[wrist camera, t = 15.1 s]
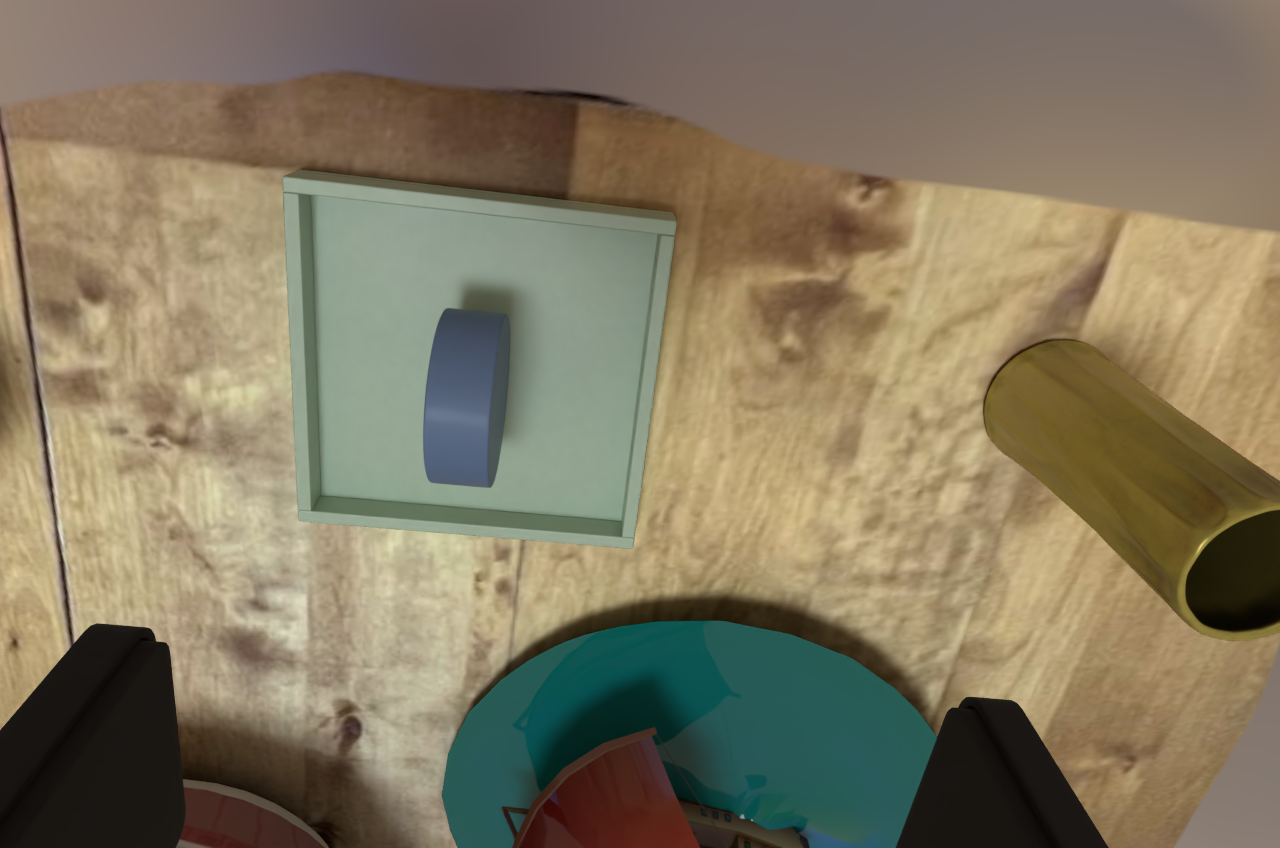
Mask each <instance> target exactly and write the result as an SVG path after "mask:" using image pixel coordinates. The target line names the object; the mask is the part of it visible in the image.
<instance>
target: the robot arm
mask: <svg viewBox="0 0 1280 848" xmlns="http://www.w3.org/2000/svg"><path fill="white" fill-rule="evenodd" d="M185 816H186V805H185V795H184V785H183V775H182V766H181V756H180V746H179V736H178V726H177V716H176V706H175V697H174V687H173V677H172V667H171V657H170V650H169V646H168V645H167V643H164V642H156V639H155V635H154V633H153V631H152V630H151V629H149V628H145V627H133V626H121V625H109V624H94V625H92V626H90V627H89V628H88V629H87V630H86V631H85V632H84V633H83V634H82V635H81V636H80V637H79V639H78V640H77V641H76V642H75V643H74V644H73V646H72V647H71V648H70V649H69V650H68V651H67V653H66V654H65V655H64V656H63V657H62V658H61V660H60V661H59V662H58V663H57V664H56V666H55V667H54V668H53V669H52V670H51V671H50V673H49V674H48V675H47V676H46V677H45V678H44V680H43V681H42V682H41V683H40V684H39V686H38V687H37V688H36V689H35V690H34V691H33V693H32V694H31V695H30V696H29V697H28V698H27V700H26V701H25V702H24V703H23V704H22V706H21V707H20V708H19V709H18V710H17V711H16V713H15V714H14V715H13V716H12V717H11V718H10V720H9V721H8V722H7V723H6V724H5V725H4V727H3V728H2V729H1V730H0V848H176V846H177V844H178V842H179V840H180V837H181V834H182V831H183V827H184V823H185ZM896 848H1108V846H1107V844H1106V843H1105V841H1104V840H1103V838H1102V836H1101V835H1100V833H1099V832H1098V830H1097V828H1096V827H1095V825H1094V824H1093V822H1092V820H1091V819H1090V817H1089V816H1088V814H1087V812H1086V811H1085V809H1084V808H1083V806H1082V804H1081V803H1080V801H1079V800H1078V798H1077V796H1076V795H1075V793H1074V791H1073V790H1072V788H1071V787H1070V785H1069V783H1068V782H1067V780H1066V779H1065V777H1064V775H1063V774H1062V772H1061V771H1060V769H1059V767H1058V766H1057V764H1056V763H1055V761H1054V759H1053V758H1052V756H1051V755H1050V753H1049V751H1048V750H1047V748H1046V747H1045V745H1044V743H1043V742H1042V740H1041V738H1040V737H1039V735H1038V734H1037V732H1036V730H1035V729H1034V727H1033V726H1032V724H1031V722H1030V721H1029V719H1028V718H1027V716H1026V714H1025V713H1024V711H1023V710H1022V708H1021V707H1020V706H1019V705H1018V704H1017V703H1016V702H1014V701H1012V700H1002V699H990V698H978V697H966V698H965V699H964V700H963V701H962V702H961V703H960V705H959V707H958V708H951V709H950V710H948V712H947V714H946V716H945V718H944V721H943V724H942V726H941V729H940V732H939V734H938V737H937V740H936V742H935V745H934V747H933V750H932V753H931V755H930V758H929V761H928V763H927V766H926V769H925V771H924V774H923V777H922V779H921V782H920V785H919V787H918V790H917V793H916V795H915V798H914V800H913V803H912V806H911V808H910V811H909V814H908V816H907V819H906V822H905V824H904V827H903V830H902V832H901V835H900V838H899V840H898V843H897V845H896Z"/></svg>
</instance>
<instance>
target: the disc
mask: <svg viewBox="0 0 1280 848" xmlns="http://www.w3.org/2000/svg"><path fill="white" fill-rule="evenodd" d="M509 362H510V323H509V317H508V315H507V314H503V313H493V312H483V311H474V310H464V309H454V308H446V309H445V310H444V311H443V313H442V314H441V317H440V319H439V322H438V325H437V328H436V331H435V335H434V340H433V344H432V349H431V355H430V361H429V367H428V374H427V383H426V392H425V404H424V421H423V454H424V465H425V471H426V475H427V478H428V480H429V481H430V482H431V483H437V484H449V485H460V486H471V487H483V488H491V487H492V485H493V483H494V481H495V477H496V473H497V469H498V464H499V458H500V452H501V445H502V438H503V431H504V422H505V413H506V403H507V392H508V379H509Z"/></svg>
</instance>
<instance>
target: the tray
mask: <svg viewBox="0 0 1280 848" xmlns="http://www.w3.org/2000/svg"><path fill="white" fill-rule="evenodd" d="M282 179H283V191H284V192H283V204H284V226H285V247H286V268H287V290H288V311H289V332H290V354H291V375H292V396H293V418H294V439H295V460H296V482H297V503H298V520H299V521H303V522H315V523H327V524H339V525H351V526H363V527H375V528H387V529H399V530H412V531H424V532H436V533H448V534H460V535H472V536H484V537H496V538H508V539H520V540H532V541H544V542H556V543H568V544H580V545H592V546H604V547H616V548H628V549H632V548H633V545H634V537H635V530H636V523H637V515H638V508H639V501H640V493H641V486H642V478H643V471H644V464H645V456H646V449H647V441H648V434H649V427H650V419H651V412H652V404H653V397H654V390H655V382H656V375H657V368H658V360H659V353H660V345H661V338H662V331H663V323H664V316H665V308H666V301H667V294H668V286H669V279H670V271H671V264H672V257H673V249H674V242H675V234H676V227H677V221H676V218H675V216H674V213H673V212H666V211H657V210H648V209H640V208H631V207H622V206H614V205H605V204H596V203H588V202H579V201H570V200H561V199H553V198H544V197H535V196H527V195H518V194H509V193H501V192H492V191H483V190H475V189H466V188H457V187H448V186H440V185H431V184H422V183H414V182H405V181H396V180H388V179H379V178H370V177H361V176H353V175H344V174H335V173H327V172H318V171H309V170H301V169H300V170H297V171H295V172H293V173H290V174H288V175H285V176H283V178H282ZM446 308H454V309H464V310H474V311H483V312H493V313H503V314H507V315H508V317H509V323H510V362H509V379H508V392H507V403H506V413H505V422H504V431H503V438H502V445H501V452H500V458H499V464H498V469H497V473H496V477H495V481H494V483H493V485H492V487H491V488H483V487H471V486H460V485H449V484H437V483H431V482H430V481H429V480H428V478H427V475H426V471H425V465H424V454H423V421H424V404H425V392H426V383H427V374H428V367H429V361H430V355H431V349H432V344H433V340H434V335H435V331H436V328H437V325H438V322H439V319H440V317H441V314H442V313H443V311H444V310H445V309H446Z"/></svg>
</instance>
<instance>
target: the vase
mask: <svg viewBox="0 0 1280 848" xmlns="http://www.w3.org/2000/svg"><path fill="white" fill-rule="evenodd" d="M984 416H985V424H986V429H987V432H988V435H989V437H990V439H991V440H992V442H993V443H994V444H995V445H996V446H997V448H998V449H999V450H1000V451H1001V452H1002V453H1003V454H1005V455H1006V456H1008V457H1010V458H1011V459H1013V460H1014V461H1015V462H1017V463H1018V464H1019V465H1020V466H1022V467H1023V468H1024V469H1026V470H1027V471H1028V472H1029V473H1031V474H1032V475H1033V476H1035V477H1036V478H1037V479H1038V480H1040V481H1041V482H1042V483H1043V484H1044V485H1045V486H1047V487H1048V488H1049V489H1050V490H1051V491H1052V492H1053V493H1054V494H1055V495H1057V496H1058V497H1059V498H1060V499H1061V500H1062V501H1063V502H1064V503H1065V504H1066V505H1068V506H1069V507H1070V508H1071V509H1072V510H1073V511H1074V512H1075V513H1076V514H1078V515H1079V516H1080V517H1081V518H1082V519H1083V520H1084V521H1085V522H1086V523H1087V524H1089V525H1090V526H1091V527H1092V528H1093V529H1094V530H1095V531H1096V532H1097V533H1098V534H1099V535H1100V536H1101V537H1102V538H1103V540H1104V541H1105V542H1106V543H1107V544H1108V545H1109V546H1110V547H1111V548H1112V549H1113V550H1114V551H1115V552H1116V553H1117V554H1118V555H1119V556H1120V557H1121V558H1122V559H1123V560H1124V561H1125V562H1126V563H1127V564H1128V565H1129V566H1130V567H1131V568H1132V569H1133V570H1134V571H1135V572H1136V573H1137V574H1138V575H1139V576H1140V577H1141V578H1142V579H1143V580H1144V581H1145V582H1146V583H1147V584H1148V585H1149V586H1150V587H1151V588H1152V589H1153V590H1154V591H1155V592H1156V593H1157V594H1158V595H1159V596H1160V597H1161V598H1162V599H1163V600H1164V601H1165V602H1166V603H1167V604H1168V605H1169V606H1170V607H1171V608H1172V610H1173V611H1174V612H1175V613H1176V614H1177V615H1178V616H1179V617H1180V618H1181V619H1182V620H1183V621H1184V622H1186V623H1187V624H1188V625H1189V626H1190V627H1192V628H1193V629H1194V630H1196V631H1197V632H1199V633H1201V634H1204V635H1206V636H1209V637H1213V638H1217V639H1221V640H1227V641H1247V640H1252V639H1258V638H1263V637H1267V636H1270V635H1273V634H1276V633H1279V632H1280V481H1279V480H1277V479H1276V478H1274V477H1273V476H1271V475H1270V474H1268V473H1267V472H1265V471H1264V470H1262V469H1261V468H1259V467H1258V466H1256V465H1255V464H1253V463H1252V462H1251V461H1249V460H1248V459H1246V458H1245V457H1243V456H1242V455H1240V454H1239V453H1238V452H1236V451H1235V450H1233V449H1232V448H1230V447H1229V446H1228V445H1226V444H1225V443H1223V442H1222V441H1221V440H1219V439H1218V438H1216V437H1215V436H1214V435H1212V434H1211V433H1209V432H1208V431H1207V430H1205V429H1204V428H1202V427H1201V426H1200V425H1198V424H1197V423H1195V422H1194V421H1192V420H1191V419H1189V418H1188V417H1186V416H1185V415H1183V414H1182V413H1181V412H1179V411H1178V410H1177V409H1175V408H1174V407H1173V406H1172V405H1170V404H1169V403H1167V402H1166V401H1164V400H1163V399H1162V398H1160V397H1159V396H1157V395H1156V394H1155V393H1154V392H1152V391H1151V390H1150V389H1148V388H1147V387H1145V386H1144V385H1143V384H1141V383H1140V382H1138V381H1137V380H1136V379H1134V378H1133V377H1131V376H1129V375H1128V374H1126V373H1125V372H1124V371H1122V370H1121V369H1120V368H1118V367H1117V366H1115V365H1114V364H1112V363H1111V362H1110V361H1109V360H1108V359H1107V358H1106V357H1105V356H1104V355H1103V354H1102V353H1101V352H1099V351H1098V350H1097V349H1095V348H1094V347H1092V346H1090V345H1088V344H1085V343H1081V342H1077V341H1070V340H1058V341H1050V342H1046V343H1043V344H1039V345H1037V346H1035V347H1032V348H1030V349H1028V350H1026V351H1024V352H1022V353H1021V354H1019V355H1017V356H1016V357H1015V358H1013V359H1012V360H1011V361H1010V362H1009V363H1008V364H1007V365H1006V366H1005V367H1004V368H1003V369H1002V370H1001V371H1000V372H999V374H998V375H997V376H996V378H995V379H994V381H993V383H992V385H991V387H990V389H989V391H988V394H987V397H986V401H985V407H984Z"/></svg>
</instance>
